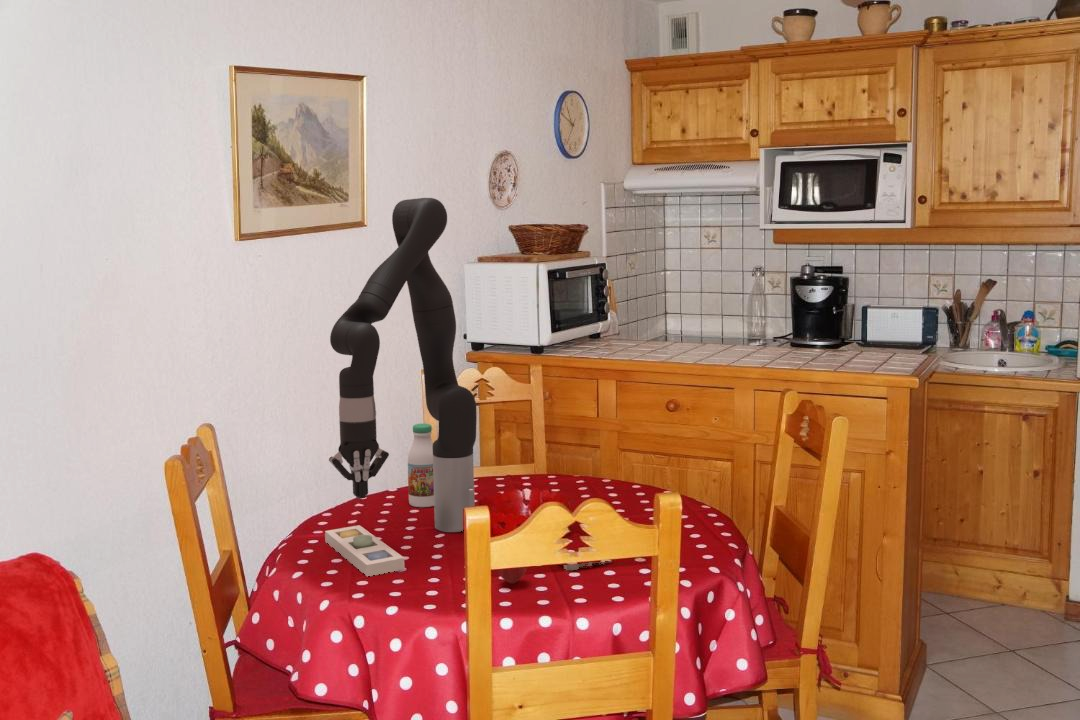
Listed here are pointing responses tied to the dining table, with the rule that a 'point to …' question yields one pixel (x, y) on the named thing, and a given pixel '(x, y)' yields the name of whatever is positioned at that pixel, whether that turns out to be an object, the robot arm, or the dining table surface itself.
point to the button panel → (365, 552)
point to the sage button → (362, 541)
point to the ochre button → (349, 533)
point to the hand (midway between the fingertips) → (360, 497)
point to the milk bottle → (421, 467)
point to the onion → (512, 574)
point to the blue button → (377, 555)
